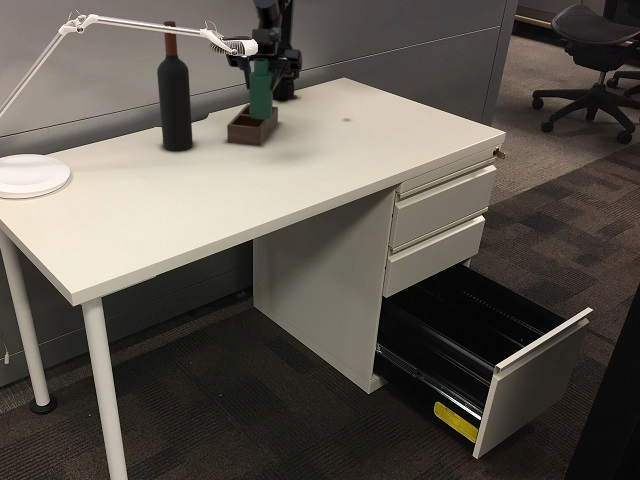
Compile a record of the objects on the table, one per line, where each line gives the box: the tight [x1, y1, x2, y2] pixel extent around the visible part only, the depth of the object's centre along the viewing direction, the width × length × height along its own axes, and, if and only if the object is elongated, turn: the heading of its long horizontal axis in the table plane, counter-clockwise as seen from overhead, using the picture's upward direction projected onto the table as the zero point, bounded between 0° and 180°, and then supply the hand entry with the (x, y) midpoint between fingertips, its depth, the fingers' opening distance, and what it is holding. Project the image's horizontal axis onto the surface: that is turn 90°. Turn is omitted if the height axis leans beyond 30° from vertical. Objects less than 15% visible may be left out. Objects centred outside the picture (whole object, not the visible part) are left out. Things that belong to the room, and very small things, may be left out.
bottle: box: [248, 58, 274, 120], centre depth 168 cm, size 6×6×14 cm
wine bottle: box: [156, 20, 194, 153], centre depth 163 cm, size 8×8×30 cm
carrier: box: [226, 103, 279, 147], centre depth 178 cm, size 17×9×5 cm, turn 162°
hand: (259, 89), depth 166 cm, fingers closed on bottle, 6 cm apart
